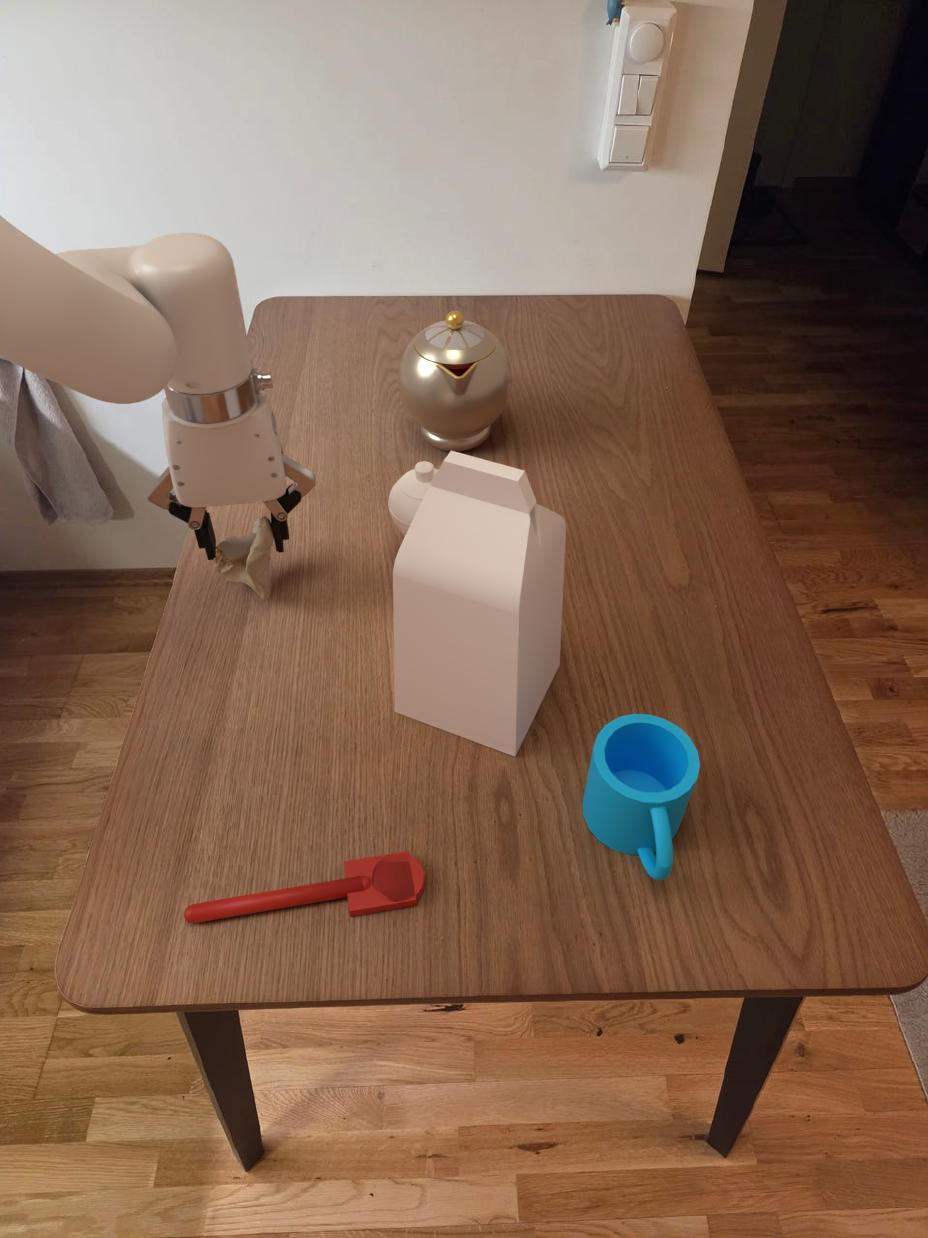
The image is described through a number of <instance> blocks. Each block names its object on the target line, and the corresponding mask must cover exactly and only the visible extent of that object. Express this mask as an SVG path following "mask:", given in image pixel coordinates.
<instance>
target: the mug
mask: <svg viewBox="0 0 928 1238" xmlns="http://www.w3.org/2000/svg"><path fill="white" fill-rule="evenodd" d="M700 767H701V763H700V758H699V752H698V749H697V747H696V745H695V744H694V742H693V740H692V738H691V737H690V736H689V735H688V734H687V733H686V732H685V731H684V730H683V729H682V728H681V727H680V726H678V725H677V724H675V723H672V722H671V721H669V720H668V719H666V718H663V717H659V716H657V715H652V714H647V713H646V714H645V713H631V714H627V715H622V716H617V718H614V719H613V720H612V721H610V722H608V723H606V724H605V725H604V726H603V727H602V729H601V730H600V731H599V732H598V734H597V735H596V738H595V741H594V744H593V748H592V753H591V758H590V763H589V768H588V774H587V779H586V783H585V787H584V789H585V790H584V793H583V798H582V814H583V818H584V821H585V823H586V826H587V828H588V830H589V831H590V832H591V833H592V834H593V835H594V837H595V838H596V839H597V840H598V841H599V842H600V843H602V844H604V846H606V847H608V848H610V849H611V850H612V851H616V852H619V853H621V854H625V855H634V856H635V855H637V856H638V857H639V859H640V862H641V864H642V866H643V869H644V870H645V872H646V873H647V875H648V876H649V877H650V878H651V879H653V880H655V881H665V880H667V879H668V877H669V876H670V875H671V873H672V870H673V865H674V846H673V839H674V837H675V836H676V835H677V834H678V831H679V828H680V826H681V823H682V820H683V819H684V815H685V813H686V809H687V808H688V805H689V802H690V799H691V797H692V794H693V791H694V788H695V786H696V783H697V781H698V776H699V772H700Z"/></svg>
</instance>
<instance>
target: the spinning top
mask: <svg viewBox="0 0 928 1238" xmlns="http://www.w3.org/2000/svg"><path fill="white" fill-rule="evenodd" d="M438 470H439V468H435V465H434V464H433V463H432V462H430V461H426V460H422V461H419V462H417V463H416V464H415V465H414V468H413V469H410V470H408V471H406V472H405V473H403V475H402V476H401V477H400V478H399V479H398V480H397V481H396V482H395V483H394V485H393V486H392V488H391V490H390V492H389V495H388V503H387V504H388V505H387V507H388V511H389V515H390V517H391V520H392V521H393V523H394V525H395V526H396V528H397V529H398V530H399V531H400V532H401V533H402V535H403V536H404V537H405V535H406V533H407V531H408V529H409V527H410V525H411V523H412V521H413V519H414V517H415V515H416V513H417V510H418V508H419V506H420V504H421V502H422V500H423V498H424V496H425V494H426V492H427V490H428V488H429V487H431V482H432V480H433V478H434V477H435V475H436V473H437V471H438Z"/></svg>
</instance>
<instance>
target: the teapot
mask: <svg viewBox="0 0 928 1238" xmlns="http://www.w3.org/2000/svg"><path fill="white" fill-rule="evenodd" d="M397 379H398V390H399V395H400V398H401V401H402V403H403V406H404V407H405V409H406V411H407V412H408V414H409V415H410V416H411V418H412V419H413V420H414V421H415V422H416V423H417V424H418V425H419V430H420V433H421V436H422V438H423V439H424V441H425V442H427V443H428V444H429V445H431V446H432V447H433V448H436V449H438V450H442V451H447V452H451V451H454V452H465V451H469V450H473V449H475V448H478V447H479V446H481V445H482V444H483V443H484V442H485V441H487V440H488V438H489V436H490V434H491V429H492V425H493V423H495V422H496V421H497V420H498V418H500V416H501V414H502V413H503V412H504V410H505V408H506V406H507V405H508V402H509V399H510V396H511V393H512V385H513V372H512V366H511V361H510V358H509V356H508V353H507V352H506V349H505V348H504V346H503V344H502V343H501V342H500V341H499V339H498V338H497V337H496V336H495V335H494V334H493V333H492V332H490V330H488V329H487V328H485V327H484V326H482V325H480V324H478V323H475V322H472V321H470V320H465V319H464V316H463V314H462V313H461V312H460V311H458V310H452V311H450V312H449V313H447V315H446V316H445V320H441V321H438V322H435V323H433V324H430V325H429V326H427V327H424V329H422V330H421V331H419V333H417V334H415V336H414V337H413V338H412V339H411V341H410V342H409V343H408V345H407V347H406V348H405V350H404V352H403V354H402V357H401V359H400V362H399V367H398V375H397Z"/></svg>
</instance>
